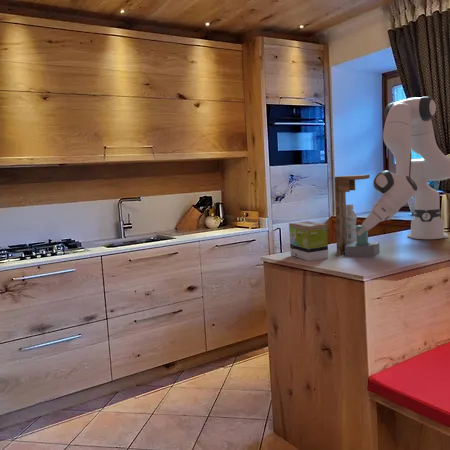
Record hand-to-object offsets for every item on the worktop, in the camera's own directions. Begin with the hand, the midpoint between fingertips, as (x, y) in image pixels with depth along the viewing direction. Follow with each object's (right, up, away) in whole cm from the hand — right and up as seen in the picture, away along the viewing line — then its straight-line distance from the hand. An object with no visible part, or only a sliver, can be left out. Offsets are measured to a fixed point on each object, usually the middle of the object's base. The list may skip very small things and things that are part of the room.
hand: (360, 233), depth 196 cm
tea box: (-22, -11, 0) cm, 25 cm away
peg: (+1, -9, +1) cm, 9 cm away
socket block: (+1, -9, +1) cm, 9 cm away
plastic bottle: (0, -7, +15) cm, 17 cm away
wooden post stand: (-2, -9, +2) cm, 9 cm away
